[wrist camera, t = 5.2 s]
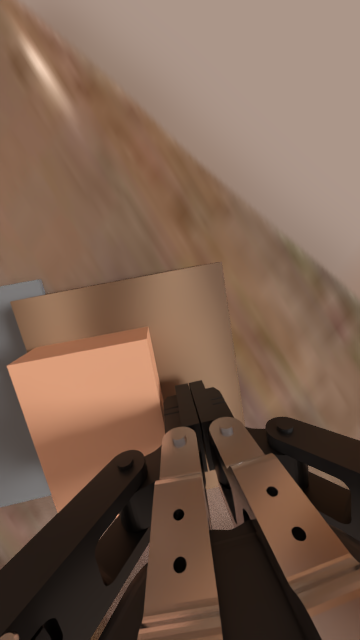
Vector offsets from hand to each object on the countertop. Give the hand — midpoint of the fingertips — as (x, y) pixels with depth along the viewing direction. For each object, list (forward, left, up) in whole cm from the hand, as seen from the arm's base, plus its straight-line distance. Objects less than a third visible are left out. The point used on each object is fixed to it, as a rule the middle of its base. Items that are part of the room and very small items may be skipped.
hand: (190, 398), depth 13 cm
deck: (+2, 0, -5) cm, 6 cm away
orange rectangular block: (+4, 0, 0) cm, 5 cm away
